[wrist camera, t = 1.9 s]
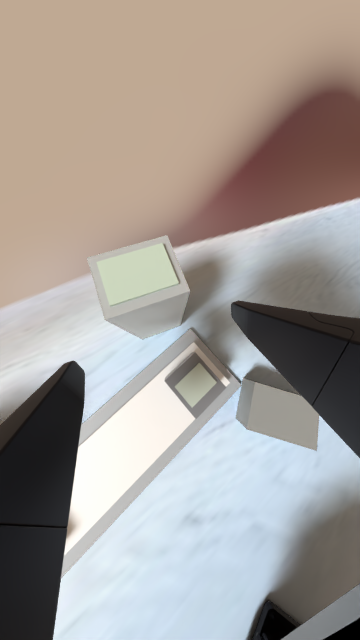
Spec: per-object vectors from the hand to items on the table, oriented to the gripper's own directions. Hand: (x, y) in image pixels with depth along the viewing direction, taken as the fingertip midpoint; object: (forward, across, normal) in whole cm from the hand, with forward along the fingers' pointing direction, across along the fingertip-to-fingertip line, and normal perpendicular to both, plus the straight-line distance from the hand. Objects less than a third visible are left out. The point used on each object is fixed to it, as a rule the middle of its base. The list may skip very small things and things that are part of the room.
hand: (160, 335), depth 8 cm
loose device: (0, -9, +15) cm, 18 cm away
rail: (+2, +8, +13) cm, 16 cm away
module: (+10, 0, +5) cm, 11 cm away
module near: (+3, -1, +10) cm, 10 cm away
